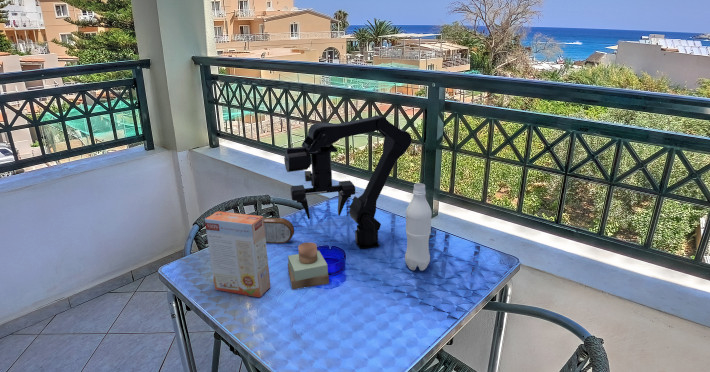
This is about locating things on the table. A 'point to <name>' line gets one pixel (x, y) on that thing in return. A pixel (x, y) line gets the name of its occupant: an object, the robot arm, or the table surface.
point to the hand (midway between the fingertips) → (324, 216)
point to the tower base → (307, 281)
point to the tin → (278, 230)
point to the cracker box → (238, 253)
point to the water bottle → (418, 229)
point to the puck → (307, 252)
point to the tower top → (307, 267)
